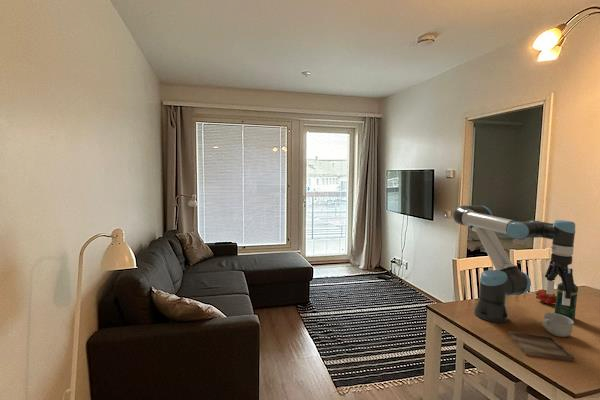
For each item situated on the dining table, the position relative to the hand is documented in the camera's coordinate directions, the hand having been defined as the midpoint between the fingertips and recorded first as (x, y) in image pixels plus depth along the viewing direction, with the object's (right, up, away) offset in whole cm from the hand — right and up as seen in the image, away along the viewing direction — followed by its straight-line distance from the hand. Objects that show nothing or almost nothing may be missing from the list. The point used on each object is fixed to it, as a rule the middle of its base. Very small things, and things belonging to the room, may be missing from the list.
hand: (557, 299), depth 147 cm
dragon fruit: (+25, -15, +38) cm, 48 cm away
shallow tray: (-17, -17, -11) cm, 26 cm away
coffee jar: (+19, -16, +19) cm, 32 cm away
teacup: (0, -17, +2) cm, 17 cm away
